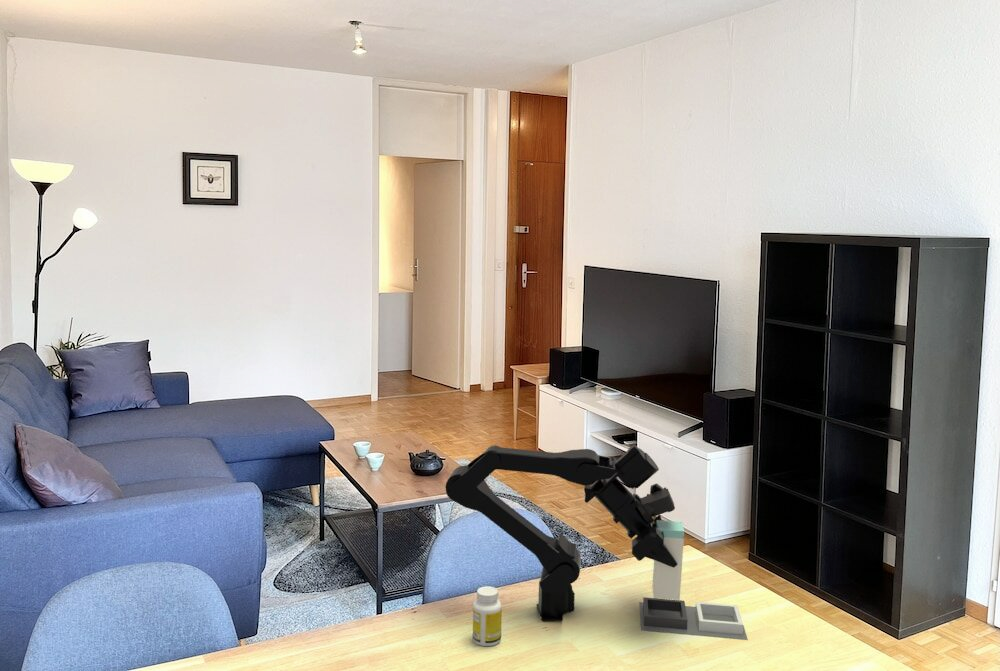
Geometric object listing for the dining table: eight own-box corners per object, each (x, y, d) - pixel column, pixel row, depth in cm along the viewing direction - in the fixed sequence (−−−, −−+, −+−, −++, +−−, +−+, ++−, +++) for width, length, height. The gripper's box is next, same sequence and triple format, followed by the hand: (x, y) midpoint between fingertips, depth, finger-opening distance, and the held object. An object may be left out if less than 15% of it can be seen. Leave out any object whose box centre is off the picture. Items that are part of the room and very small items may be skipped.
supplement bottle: (505, 635, 157) (506, 587, 156) (495, 649, 152) (496, 599, 151) (478, 630, 159) (479, 582, 158) (468, 644, 154) (469, 594, 152)
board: (640, 635, 158) (641, 620, 158) (639, 606, 170) (639, 592, 170) (747, 644, 156) (748, 629, 155) (738, 615, 167) (739, 601, 167)
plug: (653, 597, 161) (657, 529, 159) (652, 586, 166) (656, 520, 164) (679, 600, 160) (684, 531, 158) (677, 588, 165) (682, 522, 163)
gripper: (653, 492, 151) (711, 553, 151) (648, 462, 169) (700, 517, 169) (608, 530, 153) (665, 590, 153) (608, 497, 171) (660, 551, 171)
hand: (674, 560), depth 162 cm, fingers closed on plug, 5 cm apart
